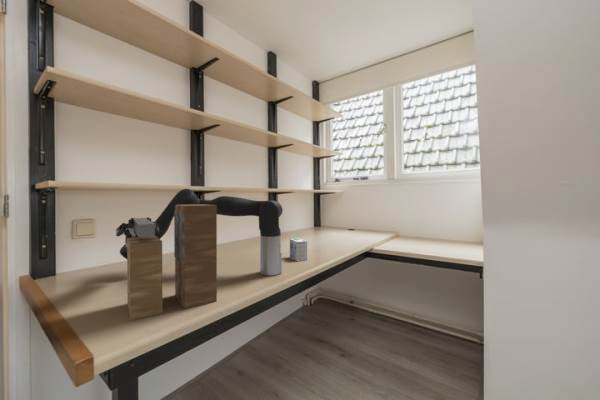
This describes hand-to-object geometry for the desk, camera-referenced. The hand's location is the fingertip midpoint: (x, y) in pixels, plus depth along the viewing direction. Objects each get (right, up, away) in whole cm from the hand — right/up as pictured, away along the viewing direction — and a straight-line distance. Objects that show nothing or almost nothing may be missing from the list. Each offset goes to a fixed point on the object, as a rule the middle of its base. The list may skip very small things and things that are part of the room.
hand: (140, 220), depth 88 cm
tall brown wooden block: (+18, -27, +1) cm, 33 cm away
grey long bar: (+4, -3, -5) cm, 7 cm away
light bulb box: (+53, -27, +58) cm, 83 cm away
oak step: (+6, -27, -7) cm, 29 cm away
